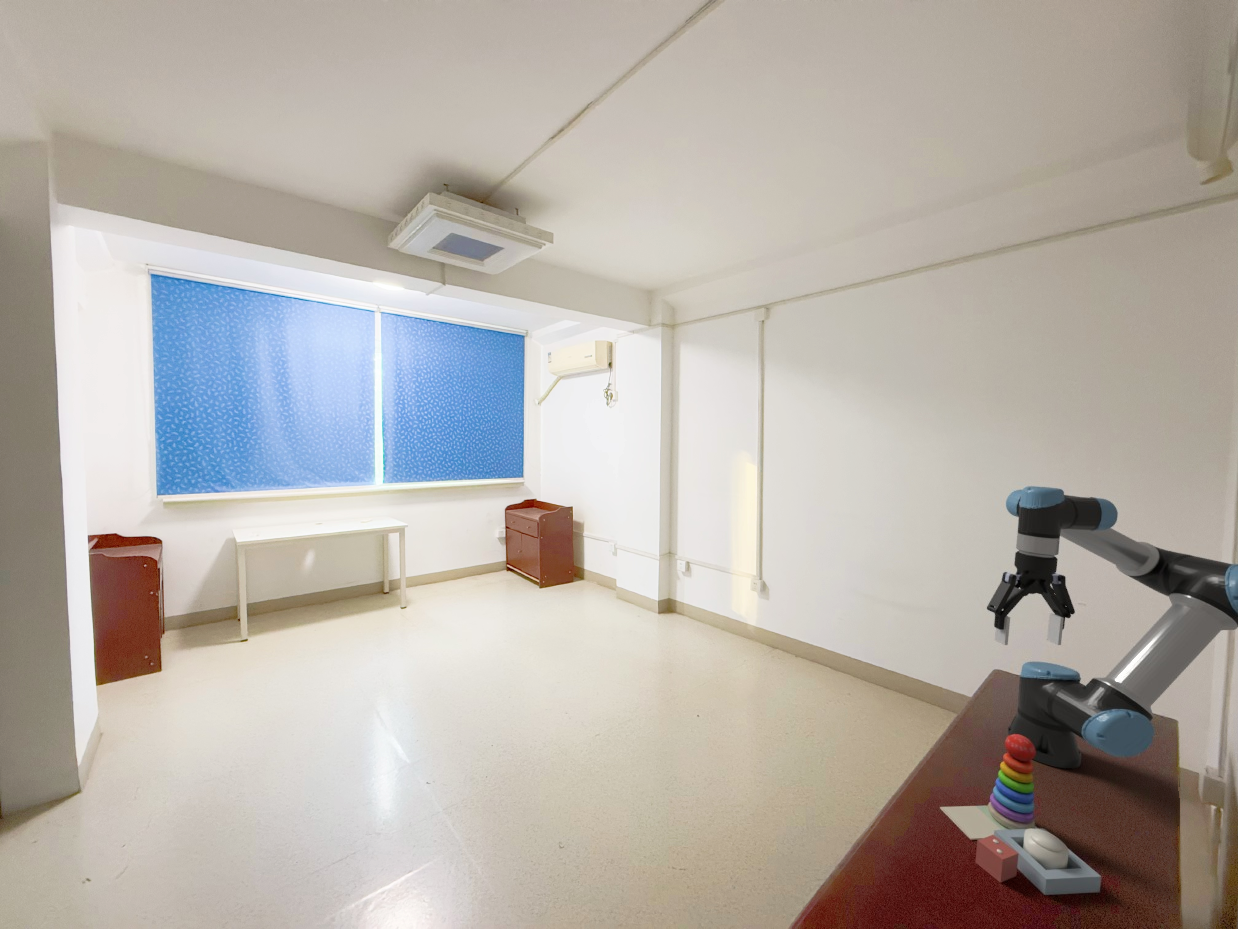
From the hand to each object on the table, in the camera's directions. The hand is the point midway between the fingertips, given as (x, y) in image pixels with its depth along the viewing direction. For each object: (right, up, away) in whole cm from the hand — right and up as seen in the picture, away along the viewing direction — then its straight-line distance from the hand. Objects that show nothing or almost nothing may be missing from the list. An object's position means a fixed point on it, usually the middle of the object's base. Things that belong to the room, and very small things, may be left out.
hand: (1027, 642), depth 116 cm
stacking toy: (-12, -35, -10) cm, 38 cm away
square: (-20, -35, -11) cm, 41 cm away
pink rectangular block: (-24, -35, -22) cm, 48 cm away
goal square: (-12, -35, -10) cm, 38 cm away
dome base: (-14, -35, -21) cm, 44 cm away
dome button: (-14, -34, -21) cm, 43 cm away
